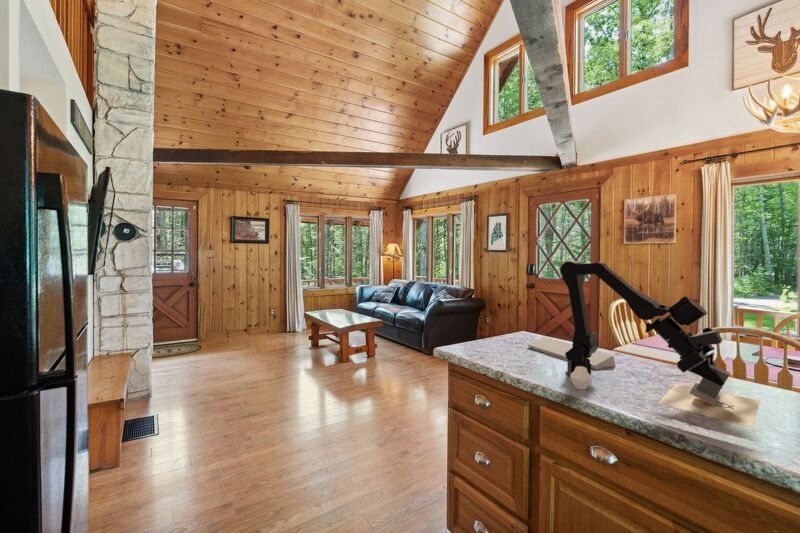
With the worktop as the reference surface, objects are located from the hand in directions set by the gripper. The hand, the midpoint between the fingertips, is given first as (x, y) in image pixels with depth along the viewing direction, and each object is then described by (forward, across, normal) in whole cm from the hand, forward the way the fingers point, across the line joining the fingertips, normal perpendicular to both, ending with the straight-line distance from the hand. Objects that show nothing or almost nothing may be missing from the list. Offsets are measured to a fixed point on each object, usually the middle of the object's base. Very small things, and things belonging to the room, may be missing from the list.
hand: (723, 383), depth 102 cm
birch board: (+3, 0, +7) cm, 8 cm away
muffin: (-18, -11, +29) cm, 35 cm away
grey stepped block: (+1, 0, +6) cm, 6 cm away
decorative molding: (-30, +23, +42) cm, 56 cm away
